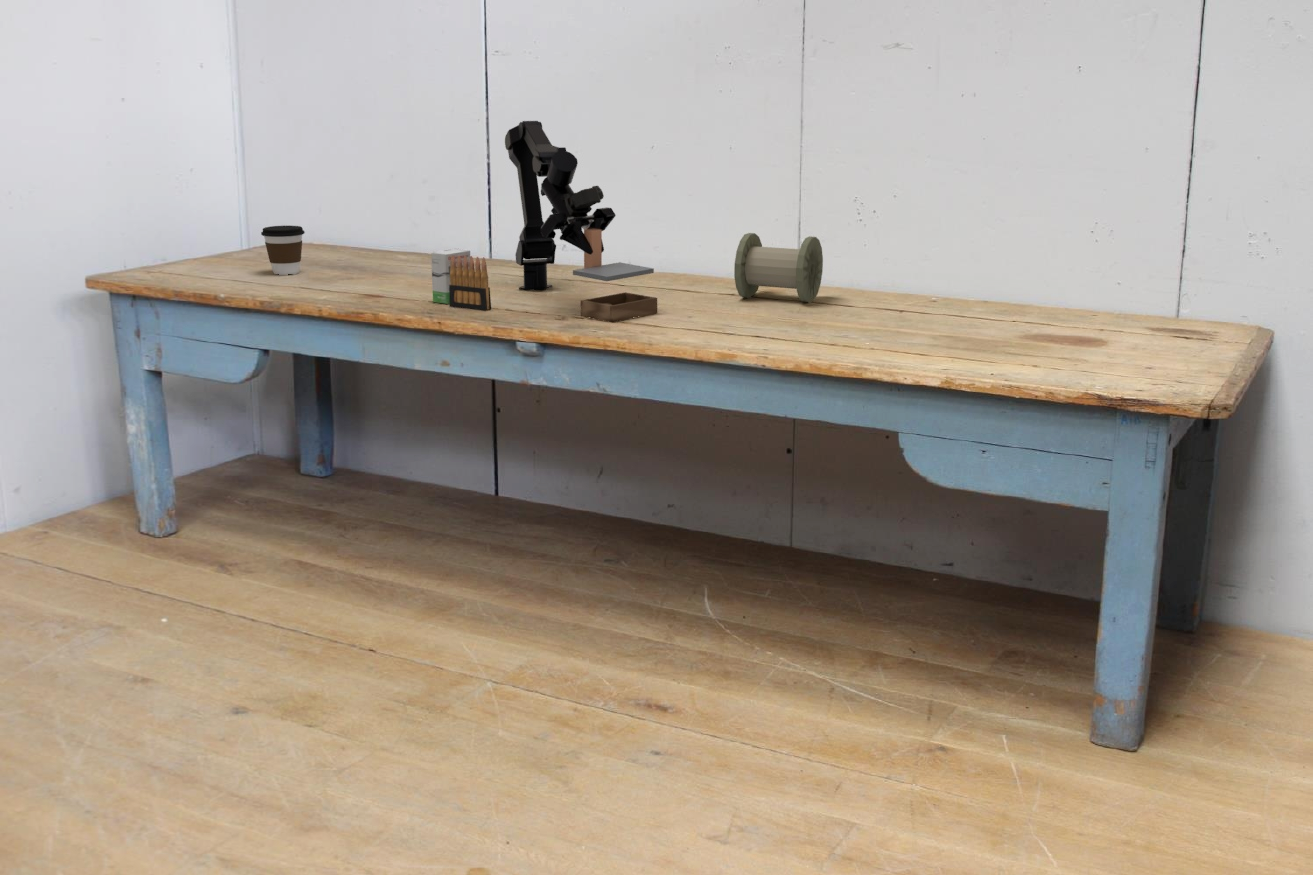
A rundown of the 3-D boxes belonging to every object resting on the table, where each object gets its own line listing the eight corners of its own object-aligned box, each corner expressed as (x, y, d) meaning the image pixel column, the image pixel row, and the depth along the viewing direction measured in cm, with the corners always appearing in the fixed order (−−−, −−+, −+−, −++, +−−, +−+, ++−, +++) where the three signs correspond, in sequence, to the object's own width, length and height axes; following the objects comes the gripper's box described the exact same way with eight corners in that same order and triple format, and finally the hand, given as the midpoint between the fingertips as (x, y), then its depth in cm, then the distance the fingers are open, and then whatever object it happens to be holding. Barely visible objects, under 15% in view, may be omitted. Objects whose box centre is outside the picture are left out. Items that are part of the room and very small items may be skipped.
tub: (580, 316, 285) (580, 300, 284) (625, 307, 295) (625, 292, 294) (612, 322, 279) (612, 306, 278) (657, 313, 288) (657, 297, 287)
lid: (565, 273, 286) (564, 232, 283) (611, 265, 296) (612, 225, 293) (606, 281, 277) (607, 239, 274) (653, 273, 287) (654, 232, 285)
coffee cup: (316, 272, 343) (313, 227, 340) (284, 278, 334) (280, 231, 331) (287, 269, 349) (284, 224, 346) (255, 274, 340) (251, 228, 337)
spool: (821, 296, 308) (823, 233, 304) (801, 307, 295) (803, 241, 291) (756, 291, 315) (757, 230, 311) (733, 302, 302) (734, 237, 298)
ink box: (447, 304, 299) (444, 253, 295) (431, 302, 302) (429, 251, 298) (473, 299, 305) (471, 249, 302) (458, 297, 308) (455, 247, 305)
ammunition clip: (491, 309, 293) (489, 256, 289) (486, 311, 291) (484, 258, 288) (454, 305, 298) (451, 253, 295) (449, 306, 296) (446, 254, 293)
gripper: (548, 177, 280) (584, 233, 276) (609, 171, 293) (644, 225, 289) (525, 210, 287) (559, 266, 283) (585, 203, 300) (619, 256, 296)
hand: (597, 252), depth 288 cm, fingers closed on lid, 3 cm apart
